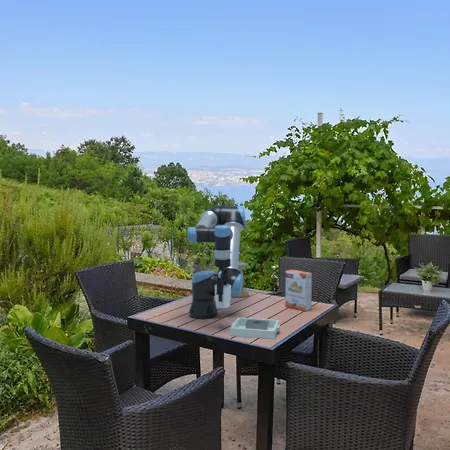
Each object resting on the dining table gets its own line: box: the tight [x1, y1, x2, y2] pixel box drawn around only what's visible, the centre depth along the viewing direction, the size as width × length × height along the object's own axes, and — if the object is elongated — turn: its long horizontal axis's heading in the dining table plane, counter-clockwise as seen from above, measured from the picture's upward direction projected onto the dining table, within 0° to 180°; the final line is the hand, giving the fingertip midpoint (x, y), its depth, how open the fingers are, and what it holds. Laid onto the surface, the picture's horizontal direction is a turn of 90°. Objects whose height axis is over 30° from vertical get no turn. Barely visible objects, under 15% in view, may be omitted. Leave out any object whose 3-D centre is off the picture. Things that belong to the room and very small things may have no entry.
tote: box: [229, 317, 281, 340], centre depth 218 cm, size 22×17×4 cm
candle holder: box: [232, 261, 250, 299], centre depth 291 cm, size 12×12×20 cm
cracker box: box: [284, 269, 313, 312], centre depth 260 cm, size 14×6×21 cm, turn 45°
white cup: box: [214, 284, 232, 309], centre depth 223 cm, size 8×8×10 cm
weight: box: [246, 320, 268, 330], centre depth 223 cm, size 10×4×4 cm, turn 77°
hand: (223, 305), depth 224 cm, fingers closed on white cup, 7 cm apart
